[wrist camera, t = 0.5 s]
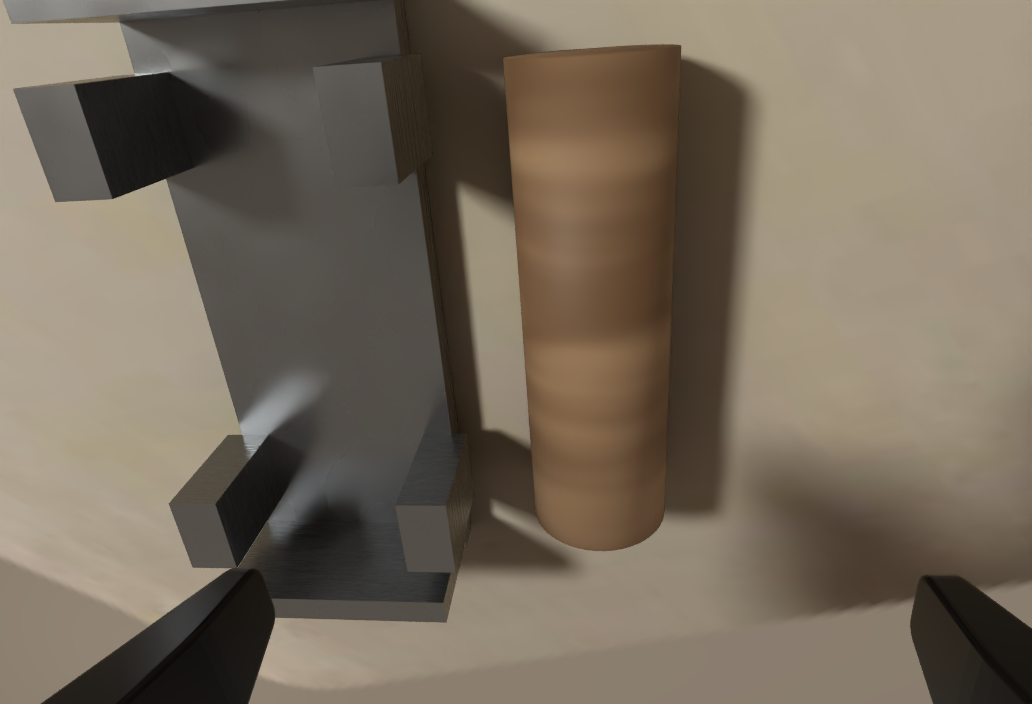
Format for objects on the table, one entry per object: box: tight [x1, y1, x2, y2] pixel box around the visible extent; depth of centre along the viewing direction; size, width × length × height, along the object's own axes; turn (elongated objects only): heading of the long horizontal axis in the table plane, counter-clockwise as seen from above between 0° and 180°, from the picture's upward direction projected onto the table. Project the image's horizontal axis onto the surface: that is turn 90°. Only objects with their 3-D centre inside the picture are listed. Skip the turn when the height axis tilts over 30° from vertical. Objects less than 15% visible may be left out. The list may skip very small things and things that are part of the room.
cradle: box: [3, 0, 474, 622], centre depth 19 cm, size 8×18×4 cm, turn 4°
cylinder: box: [503, 45, 681, 551], centre depth 18 cm, size 13×4×4 cm, turn 4°
